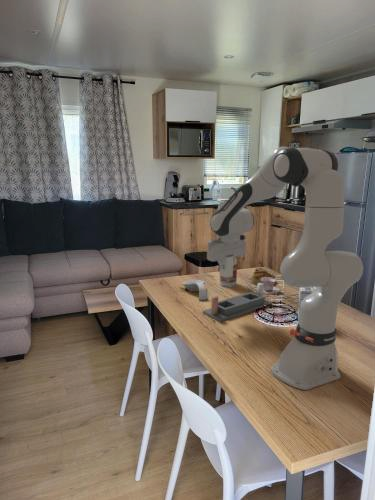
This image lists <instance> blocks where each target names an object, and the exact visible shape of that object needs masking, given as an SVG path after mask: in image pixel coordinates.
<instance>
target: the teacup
mask: <svg viewBox="0 0 375 500" xmlns="http://www.w3.org/2000/svg"><path fill="white" fill-rule="evenodd" d="M261 281H262V283H263V284H264V292H265V293H264V294H266V295H273V294H274V295H275V294H279V293H281V292H280V291H281V290H280V289H279V288H278V287H276V286H274V283H275V284H276V281H277V279H276V278H275V279H274V278H270V277H263V278H261Z"/></svg>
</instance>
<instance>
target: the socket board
mask: <svg viewBox="0 0 375 500" xmlns="http://www.w3.org/2000/svg"><path fill="white" fill-rule="evenodd" d="M256 287H257V288H256V293H254V292H252V291H250V292H247V293H244V294H240V295H236V296H233V297H230V298H226V299H224V300H219V296H218V295H211V297H210V298H211V301H210V303H211V305H210V307H211V308H208V309H205V310H202V314H204V315H206V316H208V317H210V318H212V319H214V320H216V321H217V322H223V321H227V320H230V319H233V318H235V317H238V316H242V315H244V314H247V313H251V312H253V311H256V309H257V310H259V309H258V308H260V307H262V306H264V305H266V304H269V303H272V304H273V302H272V301H270V300H268V299H265V296H264V293H263V292H264V291H265V290H264V284H263V283H258V284H257V285H256ZM260 309H261V308H260Z"/></svg>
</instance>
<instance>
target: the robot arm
mask: <svg viewBox="0 0 375 500" xmlns="http://www.w3.org/2000/svg"><path fill="white" fill-rule="evenodd" d="M338 169H339V162H338V159H337V157H336V155H335V154H334V153H333V152H332V151H328V150H326V149H315V148H311V147H296V148H295V147H289V146H279V147H276V149H274V151H272V152H271V154H270V155H268V156H267V158H266V159H265V160H264V161H263V163H262V164H261V165H260V167H259V168H258V170H257V171H256V172H255V173H254V174H253V175H252V176H251V177H250V178H249V179H248V180H247V181H246V182H244V183H243V184H241V186H239V187H238V188H237V189H236V190H235V191H234V193H232V195H230V197H229V198H228V199H223V200H220V202H218V206H217V210H216V211H214V213H213V214H212V215H211V217H210V220H209V222H210V223H209V225H210V229H211V230H212V231H213V233H215V234H216V238H215V239H210V241H209V242H208V243H207V245H208V246H207V251H206V259H207V260H208V261H209V262H217V263H218V265H219V270H220V269H224V268H225V265H223V264H222V262H223V259H226V255H230V254H233V267H234V262H235V260H236V258H237V257H241V256H245V254H247V241H246V239H247V235H246V234H243V233H247V232H250V231H252V229H253V228H254V225H255V216H254V213H253V212H252V211H251V210H250V209H247V208H245V207H246V206H248V205H250V204H253V203H256V202H259V201H265V200H270V199H272V198H274V197H276V196H278V194H280V193H281V192H282V190H284V188H285V187H286V186H287V185H291V186H293V187H295V188H297V187H299V186H302V187H303V189H304V191H305V207H304V221H303V222H304V223H303V228H302V229H303V230H302V234H301V236H300V239H299V240H298V242H297V245H296V246H295V247H294V248H293V249H292V250H291V252H290V253H288V254H287V255H286V256H284V258H283V259H282V261H281V263H280V267H279V268H280V269H279V271H280V272H279V273H280V276H281V279H282V281H283V282H284V283H285V284H286V285H287V286H290V287H296V288H299V287H301V288H307V287H313V288H315V289H313V290H314V291H313V292H312V293H311V294H310V295H308V296H306V297H305V298H304V299H303V300H302V302H301V304H300V317H299V321H298V323H297V326H296V328H295V329H294V328H291V329H290V330H289V331H290V332H289V334H290V336H293V338H292V339H291V340H290V342H289V343H288V344H287V345H286V347H284V349H283V350H282V352H281V353H280V355H279V360H278V361H277V362H276V363H275V364H274V365H272V366H271V368H270V372H271V374H272V375H273V376H274V377H276V378H277V379H278V380H280V381H281V382H283V383H285V384H286V385H289V386H290V387H293V388H295V389H300V390H304V391H307V390H311V389H314V388H316V387H319V386H322V385H326V384H328V383H331V382H334V381H337V380H340V379H341V373H340V372H339V370H338V368H339V367H338V366H339V363H338V362H339V360H338V359H339V358H338V354H339V353H338V349H337V347H336V343H335V342H336V340H337V328H336V322H337V315H338V310H339V306H340V303H341V301H342V299H343V297H344V296H345V294H346V292H348V290H349V289H350V288H351V287H352V286H353V285H354V284H356V283H357V282H359V280H361V278H362V276H363V273H364V264H363V261H362V259H361V258H360V256H359V255H358V254H357V253H355V252H350V251H345V250H344V251H343V250H326V249H327V248H328V245H330V243H331V242H332V241H334V240H336V239H337V238H339V237H340V236H341V235H342V233H343V230H344V218H345V216H344V215H345V202H346V201H345V186H344V179H343V175H342V173H340V172H339V170H338Z"/></svg>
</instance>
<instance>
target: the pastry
mask: <svg viewBox="0 0 375 500" xmlns="http://www.w3.org/2000/svg"><path fill="white" fill-rule="evenodd" d="M263 277H270V278H274V279H276V277H275V275H274V274H271V272H269V271H267V270H266V269H264V268H262V267H257V268H255V270H254V272H253V274H252V276H251V283H252V284H253V285H255V286H257V284H258V283H262V281H261V278H263ZM274 285H276V282H275V283H274Z"/></svg>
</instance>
